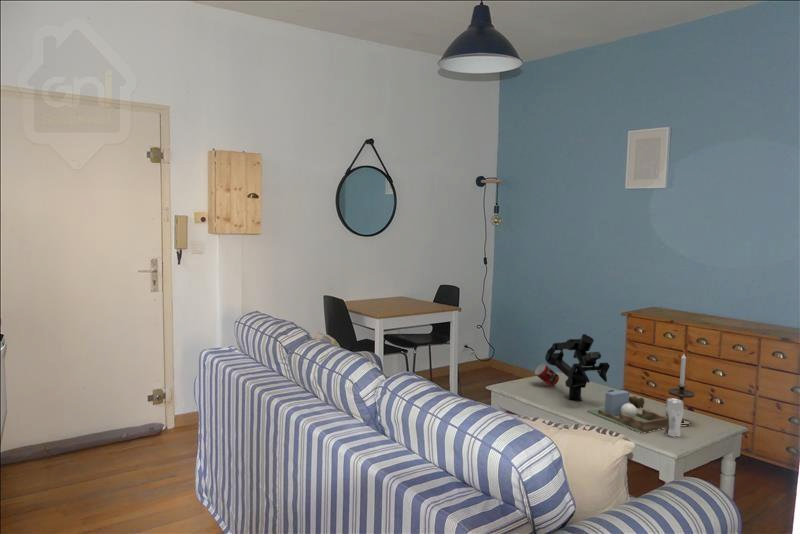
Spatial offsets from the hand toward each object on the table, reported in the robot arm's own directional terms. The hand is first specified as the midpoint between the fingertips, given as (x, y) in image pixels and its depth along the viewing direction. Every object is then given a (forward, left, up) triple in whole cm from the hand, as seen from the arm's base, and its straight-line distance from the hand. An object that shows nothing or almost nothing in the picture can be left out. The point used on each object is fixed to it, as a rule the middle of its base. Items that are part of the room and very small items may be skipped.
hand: (597, 381), depth 280 cm
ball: (+7, +14, -10) cm, 19 cm away
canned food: (-36, -21, -11) cm, 44 cm away
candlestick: (+3, +36, -15) cm, 39 cm away
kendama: (-21, +14, -15) cm, 29 cm away
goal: (+7, +14, -14) cm, 21 cm away
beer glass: (+21, +31, -15) cm, 40 cm away
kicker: (+2, +9, -14) cm, 17 cm away
